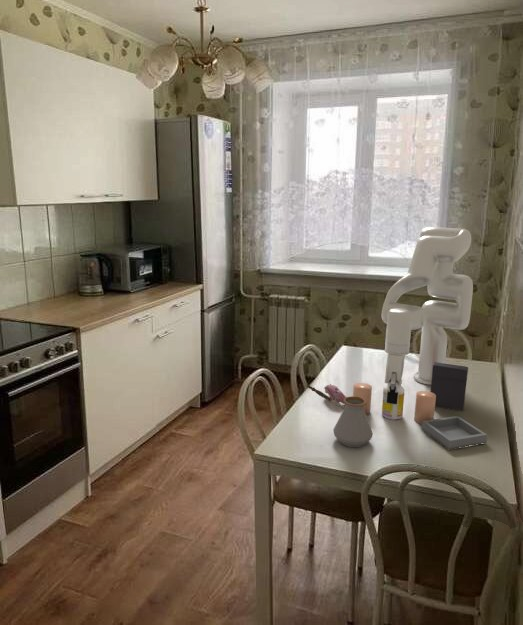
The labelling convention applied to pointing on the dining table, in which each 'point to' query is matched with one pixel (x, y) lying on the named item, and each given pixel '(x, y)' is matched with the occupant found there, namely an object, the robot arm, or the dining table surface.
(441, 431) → the tray
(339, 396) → the pink purple bumpy rod
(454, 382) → the dark grey rectangular block
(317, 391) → the coffee pot
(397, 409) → the supplement bottle
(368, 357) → the dining table surface
